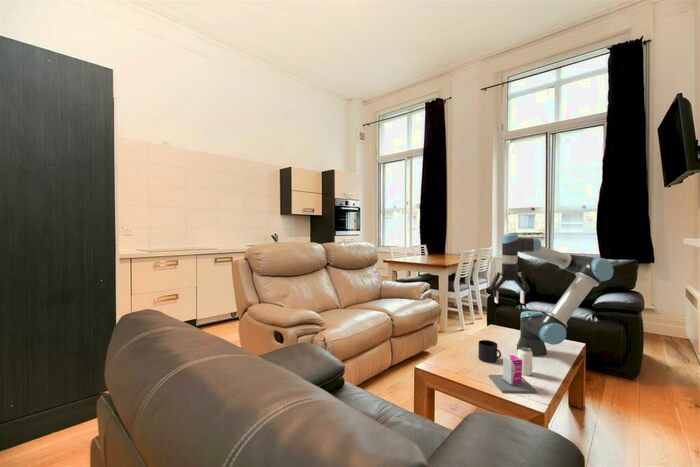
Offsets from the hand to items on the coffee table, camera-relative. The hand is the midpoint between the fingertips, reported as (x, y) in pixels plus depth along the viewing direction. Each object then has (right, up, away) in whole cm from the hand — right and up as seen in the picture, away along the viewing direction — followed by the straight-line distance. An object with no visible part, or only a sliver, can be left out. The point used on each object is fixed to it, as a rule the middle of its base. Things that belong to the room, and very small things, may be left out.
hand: (509, 303), depth 173 cm
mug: (-9, -32, +3) cm, 33 cm away
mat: (-11, -32, -24) cm, 42 cm away
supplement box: (-10, -32, -24) cm, 41 cm away
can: (+2, -32, -12) cm, 35 cm away
